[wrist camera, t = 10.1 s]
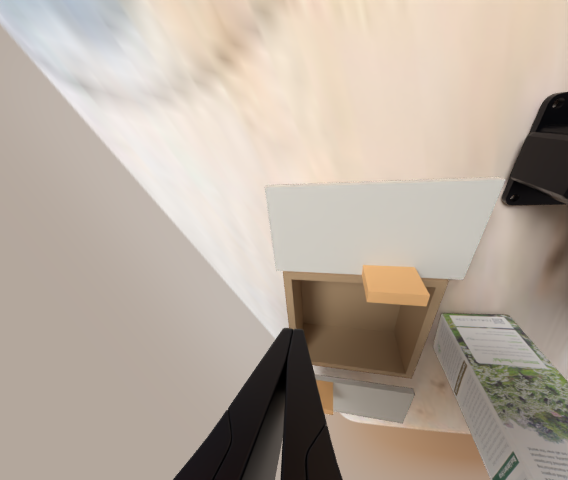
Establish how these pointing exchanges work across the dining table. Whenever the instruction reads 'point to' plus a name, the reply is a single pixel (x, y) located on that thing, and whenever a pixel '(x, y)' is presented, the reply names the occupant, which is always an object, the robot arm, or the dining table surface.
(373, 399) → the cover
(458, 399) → the syrup box
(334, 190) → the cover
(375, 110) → the dining table surface
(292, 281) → the carton
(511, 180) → the robot arm
